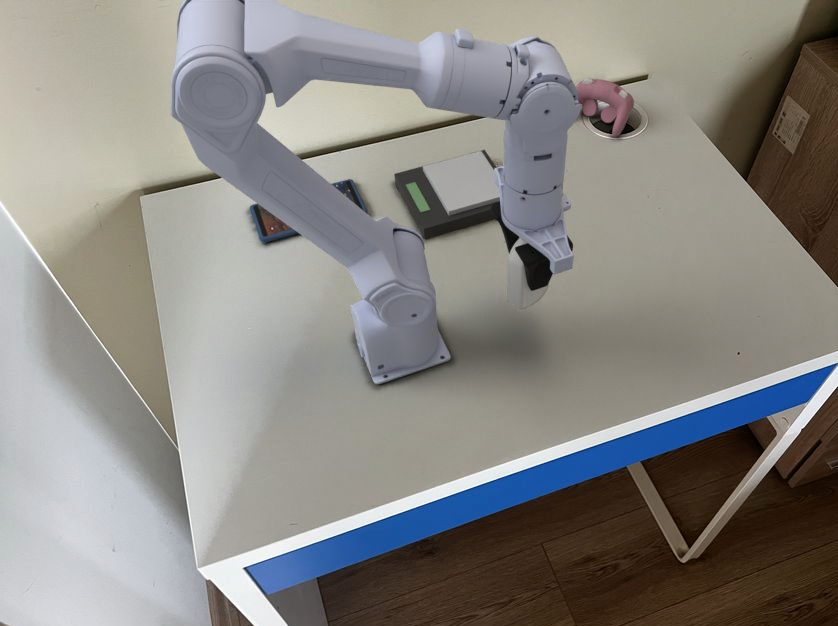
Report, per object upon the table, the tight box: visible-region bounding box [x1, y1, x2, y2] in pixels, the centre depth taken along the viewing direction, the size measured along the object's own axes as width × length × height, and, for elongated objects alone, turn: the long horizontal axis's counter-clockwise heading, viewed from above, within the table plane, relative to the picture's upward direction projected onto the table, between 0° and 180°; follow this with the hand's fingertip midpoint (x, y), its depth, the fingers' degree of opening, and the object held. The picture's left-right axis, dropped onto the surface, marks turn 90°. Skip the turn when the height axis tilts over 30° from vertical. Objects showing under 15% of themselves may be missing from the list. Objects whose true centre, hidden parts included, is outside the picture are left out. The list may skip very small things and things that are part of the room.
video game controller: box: [575, 78, 635, 138], centre depth 108 cm, size 10×5×7 cm, turn 58°
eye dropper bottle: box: [506, 237, 550, 311], centre depth 76 cm, size 4×6×12 cm
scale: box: [393, 149, 500, 240], centre depth 98 cm, size 14×12×3 cm
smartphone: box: [249, 178, 368, 244], centre depth 97 cm, size 8×1×15 cm
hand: (529, 271), depth 77 cm, fingers closed on eye dropper bottle, 4 cm apart
